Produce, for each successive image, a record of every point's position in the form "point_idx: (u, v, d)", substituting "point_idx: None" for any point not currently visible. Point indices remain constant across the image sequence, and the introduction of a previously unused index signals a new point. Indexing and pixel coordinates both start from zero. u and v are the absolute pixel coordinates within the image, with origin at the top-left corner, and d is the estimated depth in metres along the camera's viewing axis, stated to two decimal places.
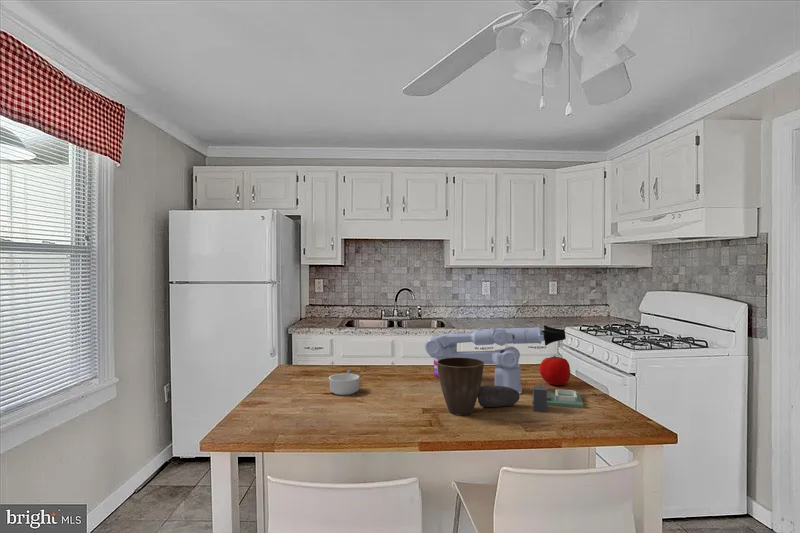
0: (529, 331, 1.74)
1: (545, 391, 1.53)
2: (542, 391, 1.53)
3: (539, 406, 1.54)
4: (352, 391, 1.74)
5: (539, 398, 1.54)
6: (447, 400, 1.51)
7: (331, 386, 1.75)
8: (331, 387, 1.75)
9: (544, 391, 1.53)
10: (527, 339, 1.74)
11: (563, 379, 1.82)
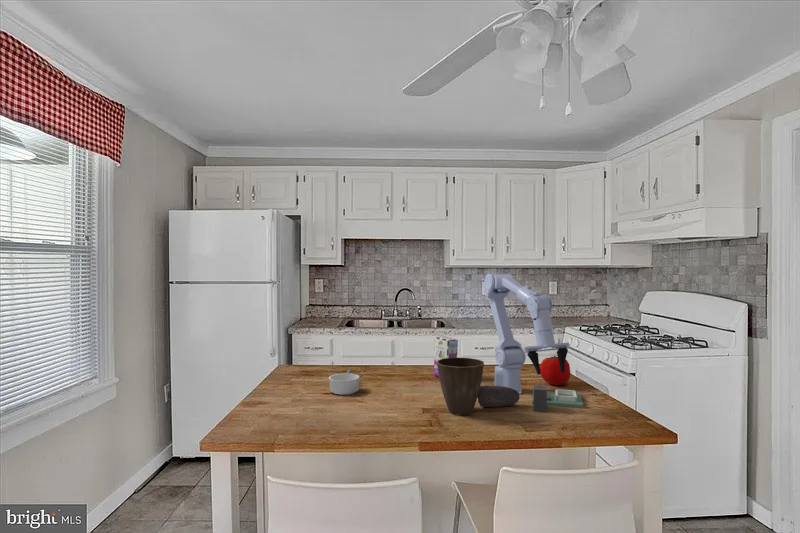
0: (539, 336, 1.58)
1: (545, 391, 1.53)
2: (542, 391, 1.53)
3: (539, 406, 1.54)
4: (352, 391, 1.74)
5: (539, 398, 1.54)
6: (447, 400, 1.51)
7: (331, 386, 1.75)
8: (331, 387, 1.75)
9: (544, 391, 1.53)
10: None
11: (563, 379, 1.82)
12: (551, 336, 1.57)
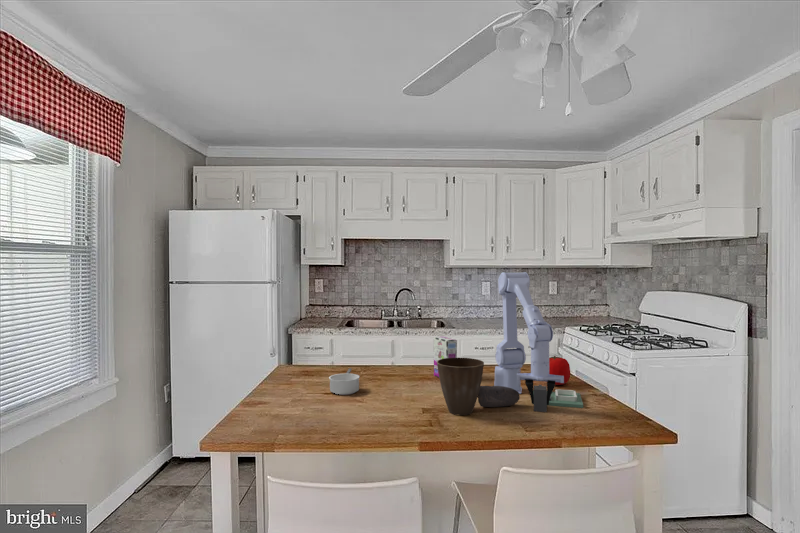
0: (532, 366, 1.55)
1: (545, 391, 1.53)
2: (542, 391, 1.53)
3: (539, 406, 1.54)
4: (352, 391, 1.74)
5: (539, 398, 1.54)
6: (447, 400, 1.51)
7: (331, 386, 1.75)
8: (331, 387, 1.75)
9: (544, 391, 1.53)
10: None
11: None
12: (545, 369, 1.53)
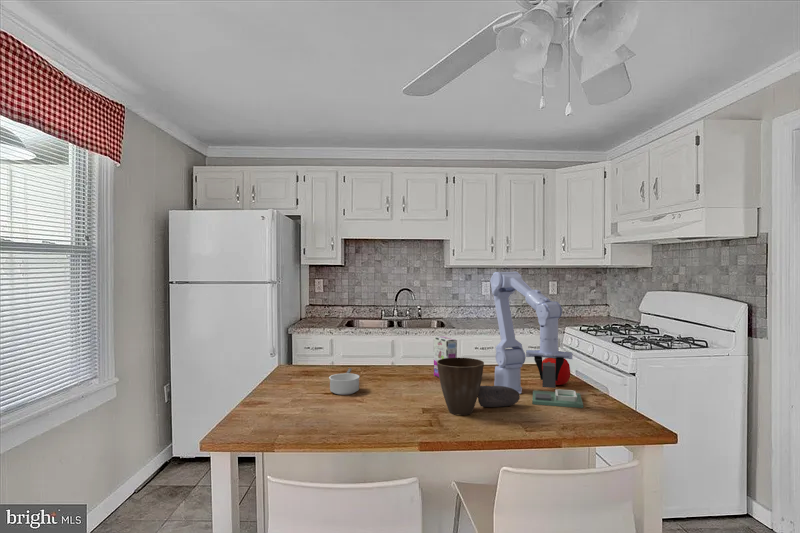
0: (541, 343, 1.58)
1: (554, 367, 1.56)
2: (551, 367, 1.56)
3: (548, 382, 1.57)
4: (352, 391, 1.74)
5: (548, 374, 1.57)
6: (447, 400, 1.51)
7: (331, 386, 1.76)
8: (331, 387, 1.76)
9: (553, 367, 1.56)
10: None
11: (563, 379, 1.82)
12: (554, 345, 1.56)
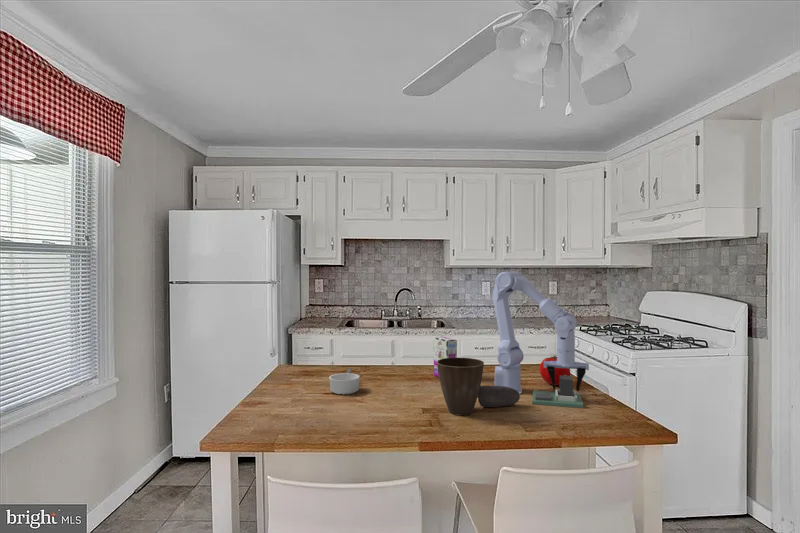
0: (559, 354, 1.64)
1: (571, 380, 1.62)
2: (568, 380, 1.62)
3: (566, 395, 1.63)
4: (352, 391, 1.75)
5: (565, 387, 1.63)
6: (447, 400, 1.51)
7: (331, 386, 1.76)
8: (331, 387, 1.76)
9: (570, 380, 1.62)
10: None
11: None
12: (571, 357, 1.62)
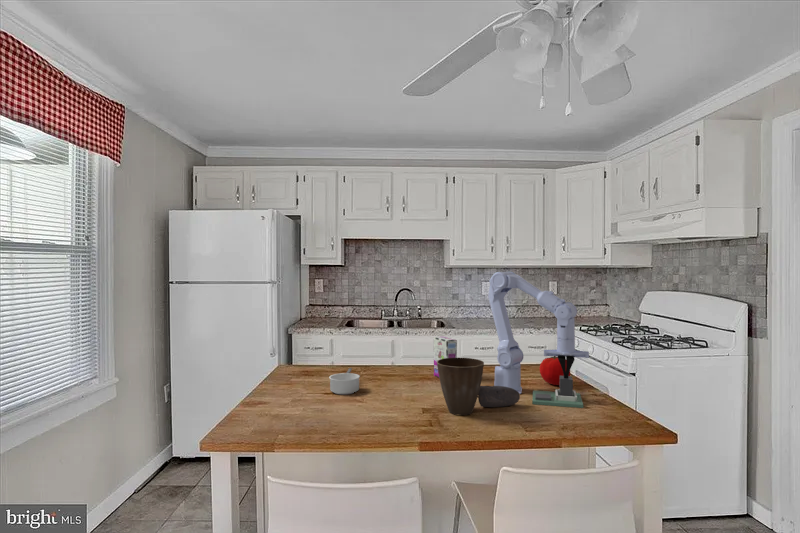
0: (559, 343, 1.64)
1: (571, 380, 1.62)
2: (568, 380, 1.62)
3: (566, 395, 1.63)
4: (352, 390, 1.75)
5: (565, 387, 1.63)
6: (447, 400, 1.51)
7: (331, 386, 1.76)
8: (331, 387, 1.76)
9: (570, 380, 1.62)
10: None
11: None
12: (571, 345, 1.62)
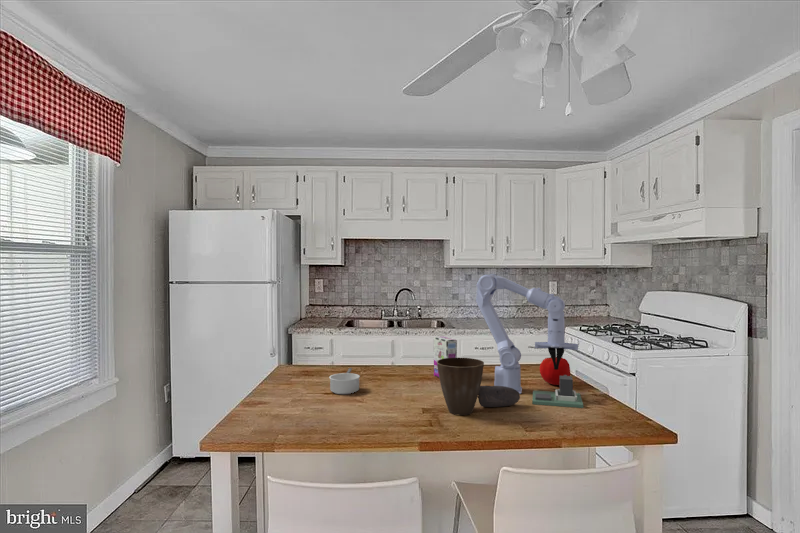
0: (549, 335, 1.70)
1: (571, 380, 1.62)
2: (568, 380, 1.62)
3: (566, 395, 1.63)
4: (352, 390, 1.75)
5: (565, 387, 1.63)
6: (447, 400, 1.51)
7: (331, 385, 1.76)
8: (331, 386, 1.76)
9: (570, 380, 1.62)
10: None
11: None
12: (561, 337, 1.69)
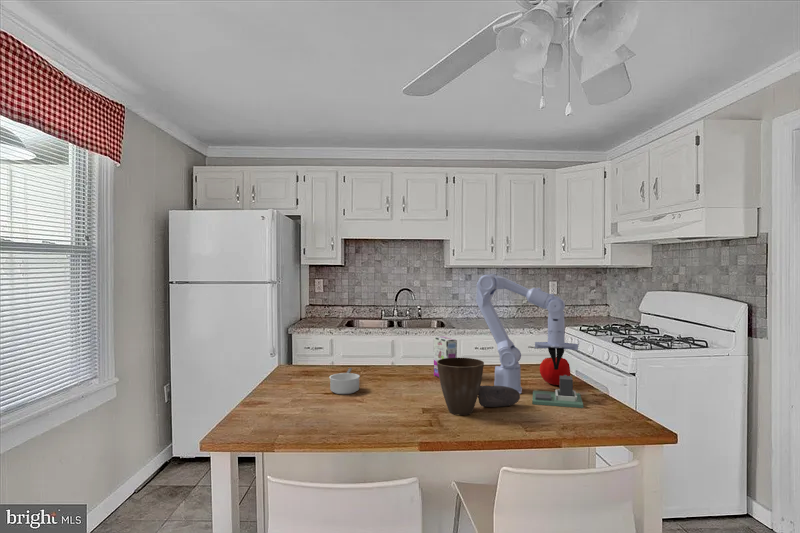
0: (549, 335, 1.70)
1: (571, 380, 1.62)
2: (568, 380, 1.62)
3: (566, 395, 1.63)
4: (352, 390, 1.75)
5: (565, 387, 1.63)
6: (447, 400, 1.51)
7: (331, 385, 1.76)
8: (331, 386, 1.76)
9: (570, 380, 1.62)
10: None
11: None
12: (561, 337, 1.69)
